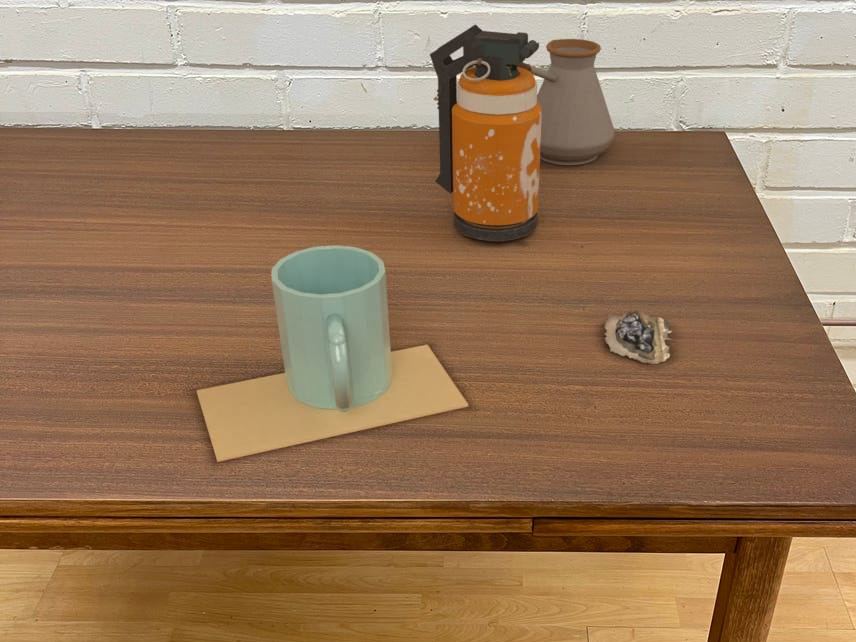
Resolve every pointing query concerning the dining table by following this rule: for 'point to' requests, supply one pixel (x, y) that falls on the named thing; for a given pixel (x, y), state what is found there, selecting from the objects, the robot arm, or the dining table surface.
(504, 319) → the dining table surface
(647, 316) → the mineral specimen
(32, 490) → the dining table surface
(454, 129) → the canister
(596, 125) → the coffee pot
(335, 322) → the teal coffee mug
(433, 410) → the mat
